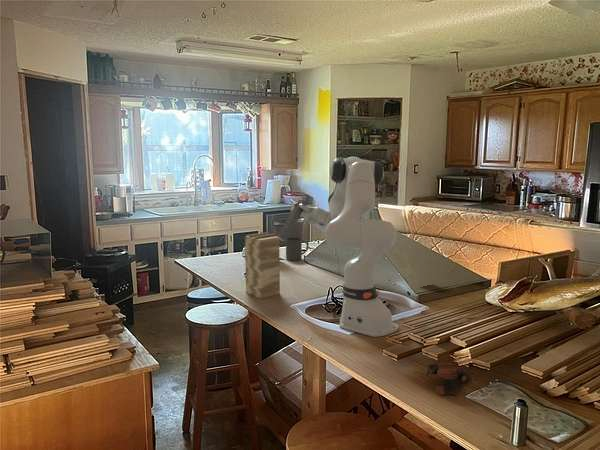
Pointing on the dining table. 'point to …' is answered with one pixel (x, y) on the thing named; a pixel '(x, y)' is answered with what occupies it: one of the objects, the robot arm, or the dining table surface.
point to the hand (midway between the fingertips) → (297, 204)
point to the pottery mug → (449, 378)
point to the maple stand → (262, 265)
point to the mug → (294, 249)
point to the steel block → (291, 221)
